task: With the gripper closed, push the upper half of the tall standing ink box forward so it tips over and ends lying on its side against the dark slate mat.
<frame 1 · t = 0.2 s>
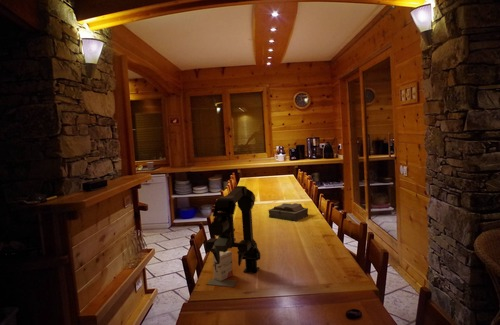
hand: (228, 264, 143), 15 cm above the table, fingers open, 9 cm apart
ink box: (223, 277, 165), on the table, touching slate mat
slate mat: (221, 283, 159), on the table
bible: (288, 217, 266), on the table
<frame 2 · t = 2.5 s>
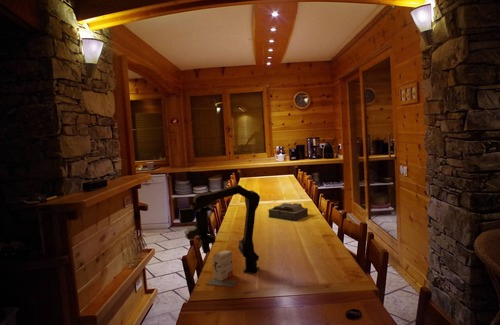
hand: (204, 252, 163), 13 cm above the table, fingers closed
nothing on the table moved.
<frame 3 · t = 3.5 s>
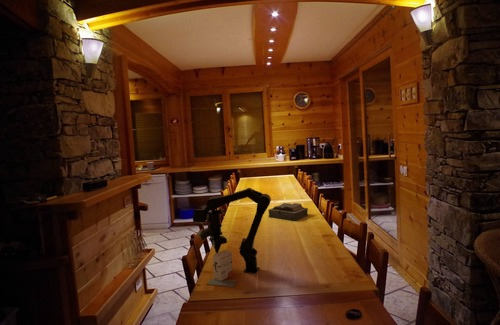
hand: (216, 252, 173), 9 cm above the table, fingers closed
nothing on the table moved.
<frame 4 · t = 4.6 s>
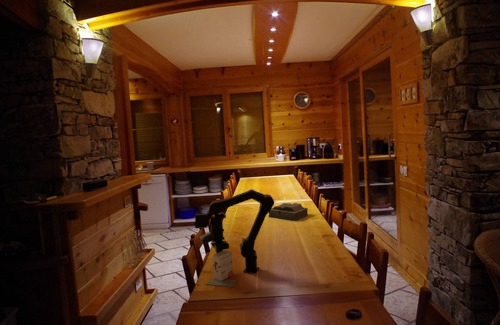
hand: (218, 257, 170), 8 cm above the table, fingers closed
ink box: (223, 277, 165), on the table, touching gripper, slate mat
everything else where it was.
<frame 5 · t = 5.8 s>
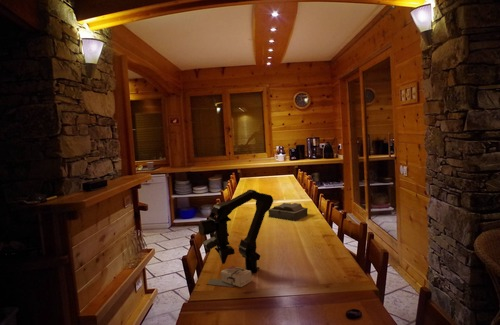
hand: (223, 263, 162), 8 cm above the table, fingers closed
ink box: (226, 273, 163), point 3 cm above the table, touching slate mat
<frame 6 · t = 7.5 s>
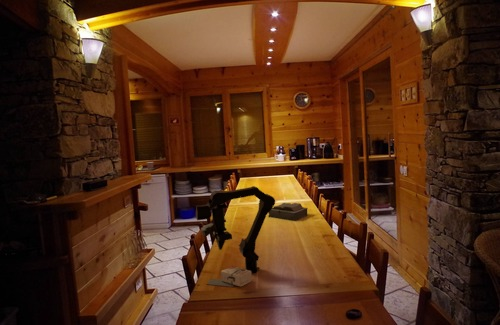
hand: (220, 249, 166), 13 cm above the table, fingers closed
ink box: (226, 273, 163), point 3 cm above the table, touching slate mat
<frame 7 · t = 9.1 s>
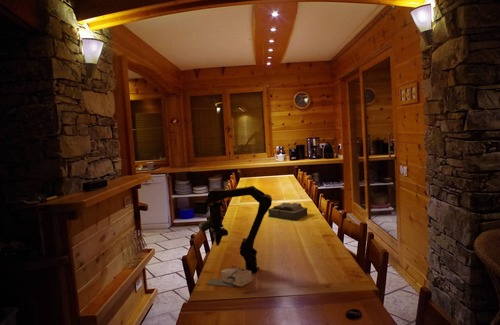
hand: (217, 245, 172), 13 cm above the table, fingers closed
at the end: ink box tilted 89°; ink box inside the target area (5.3 cm from its centre), point 2.6 cm above the table; the gripper is holding nothing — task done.
